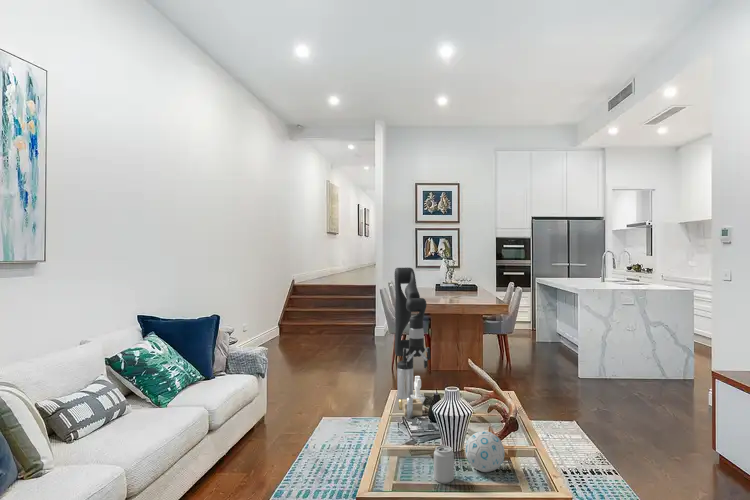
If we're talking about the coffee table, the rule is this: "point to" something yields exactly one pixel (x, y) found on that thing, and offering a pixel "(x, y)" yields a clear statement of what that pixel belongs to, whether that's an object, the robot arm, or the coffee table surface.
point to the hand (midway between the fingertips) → (416, 368)
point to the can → (443, 464)
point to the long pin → (409, 407)
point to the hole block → (416, 407)
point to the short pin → (400, 404)
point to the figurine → (418, 389)
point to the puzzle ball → (484, 451)
